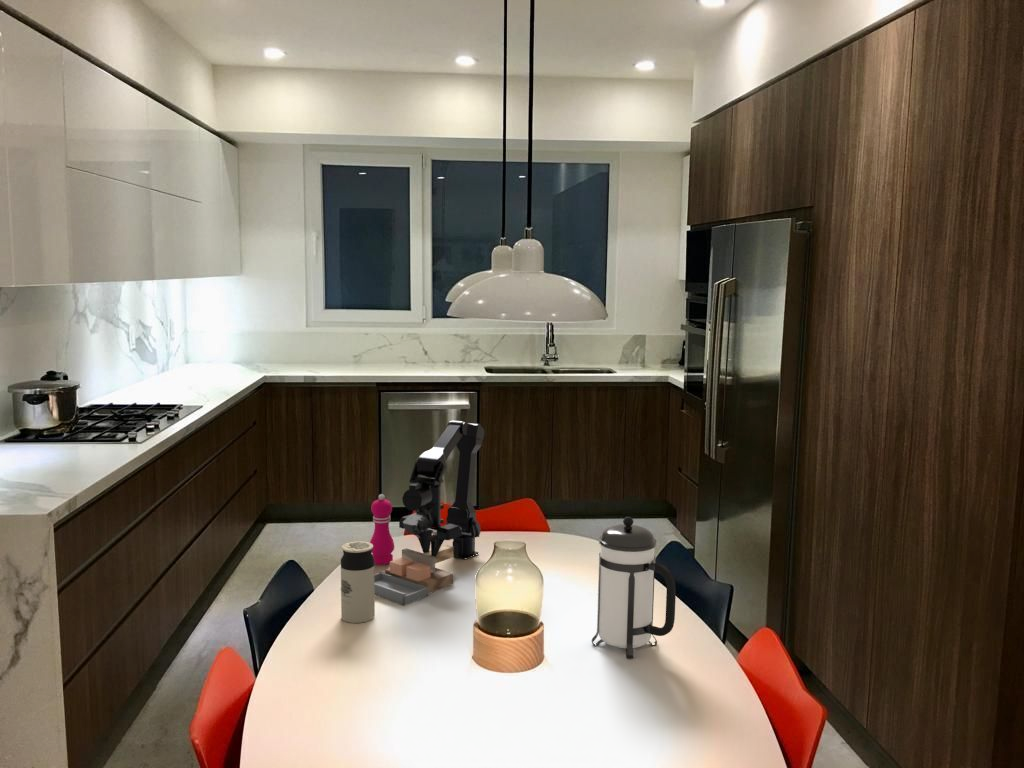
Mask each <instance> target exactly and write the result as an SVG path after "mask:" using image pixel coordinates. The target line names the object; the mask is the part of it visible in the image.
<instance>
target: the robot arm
mask: <svg viewBox="0 0 1024 768" xmlns="http://www.w3.org/2000/svg"><path fill="white" fill-rule="evenodd" d="M484 437H485V429H484V428H483V427H482V425H481V424H480V423H473V422H472V423H471V422H466V421H463V420H453V419H452V420H450V421H448V423H447V426H446V428H445V430H444V431H443V433H442V434H441V436H440V437H439V438H438V440H437V441H436V442H435V444H434V445H433V447H432V448H430V449H429V450H426V451H423V452H422V453H421V454H420V455H419V457H418V458H417V459H416V461H415V463H414V466H413V469H412V471H411V474H410V478H409V483H411V484H409V485H408V489H407V490H405V492H404V493H403V496H402V503H403V506H404V507H405V508H406V509H407V510H408V511H413V512H414V513H412V514H408V515H404V516H402V517H401V518H400V519H399V524H398V526H399V529H402V530H403V529H404V531H405V533H407V534H411V535H414V536H415V537H417V539H418V542H419V544H420V547H421V550H422V553H425V552H428V551H431V556H434V557H435V558H436V556H437V553H438V551H439V549H440V547H442V545H443V543H444V541H451V540H452V546H453V547H454V550H453V557H455V556H456V557H455V558H459V559H462V558H463V560H465V559H464V558H467V559H469V558H468V557H470V558H472V557H474V556H473V555H475V556H477V555H476V554H478V553H479V552H478V551H475V549H476V538H480V535H481V531H482V529H481V525H480V523H479V522H478V520H477V513H476V509H475V507H474V505H473V503H472V496H473V489H474V488H473V487H474V485H473V484H474V473H475V464H476V456H477V455H476V454H477V453H478V451H479V450H480V448H481V447H482V446H483V440H484ZM455 447H456V448H457V451H458V454H459V455H458V463H457V475H456V486H455V497H454V502H453V503H452V505H451V506H448V507H447V513H446V514H447V516H446V519H445V520H444V519H443V518H442V517H441V511H442V510H443V509H444V507H445V506H444V504H442V503H441V502H442V500H441V499H442V498H441V497H442V496H441V495H442V493H441V491H442V489H441V484H442V483H444V479H443V476H444V474H445V472H446V470H447V467H448V465H447V459H448V458H449V456H450V455H451V453H452V452H453V451H454V449H455ZM444 521H445V524H444ZM441 524H444V525H441ZM430 549H431V550H430ZM478 555H479V554H478ZM471 556H472V557H471Z"/></svg>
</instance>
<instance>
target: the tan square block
mask: <svg viewBox="0 0 1024 768" xmlns="http://www.w3.org/2000/svg"><path fill="white" fill-rule="evenodd" d="M413 564H414V562H413V561H412V560H409V559H406V558H402V556H401V557H398V558H396V559H393V561H390V563H389V568H390V573H394V574H397V575H400V576H403V575H406V567H407V566H410V565H413Z"/></svg>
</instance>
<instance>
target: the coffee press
mask: <svg viewBox="0 0 1024 768" xmlns="http://www.w3.org/2000/svg"><path fill="white" fill-rule="evenodd" d="M634 522H635V521H634V519H633V518H632V517H630V516H625V517H624V518H623V521H622V524H613V525H610V526H608V527H607V528H605V529H604V530H602V533H601V535H599V537H598V544H599V546H600V549H599V550H600V552H599V553H598V555H599V557H598V583H597V584H598V586H597V587H598V588H597V591H598V592H597V619H596V620H597V621H596V633H595V634H594V636H593V637H592V639H591V644H592V646H593V647H598V646H599V645H601V644H602V643H603V642H604V643H605V644H607V645H609V646H611V647H615V648H620V649H625V655H626V656H625V657H626V659H633V658H634V649H636V648H640V647H643V646H645V645H646V644H650V646H652V643H655V646H656V645H658V640H657V639H656V637H655V636H657V637H658V636H659V637H661V636H662V637H663V636H666V635H668V634H670V633H671V632H672V630H673V629H674V626H675V625H674V624H675V619H676V597H677V596H676V595H677V594H676V592H677V591H676V589H677V588H676V580H675V578H674V576H673V574H672V573H673V572H671V571H670V570H669V569H668V568H667V567H666V565H663V564H660V563H656V556H655V549H656V547H657V539H656V538H655V536H654V534H653V532H652V531H651V530H649V528H646V527H645V526H644V527H643V526H642V525H637V524H634ZM655 573H656V574H657V573H658V574H659V575H661V577H663V579H664V581H665V585H666V596H665V597H666V598H665V599H666V600H665V620H664V621H665V622H664V625H663V626H662V627H658V626H655V625H653V624H654V623H653V622H654V603H655V602H654V597H655V596H654V595H655ZM598 636H599V638H600V639H599V640H598V641H597V642H596V646H595V644H594V643H595V640H596V639H597V637H598ZM651 638H653V639H654V640H655V641H654V642H651V641H650V640H651Z"/></svg>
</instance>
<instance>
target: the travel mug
mask: <svg viewBox="0 0 1024 768" xmlns="http://www.w3.org/2000/svg"><path fill="white" fill-rule="evenodd" d="M372 548H373V545H372V544H371V543H370V541H350V542H347V543H344V544H343V545H341V549H342V553H343V554H342V556H341V558H340V597H341V598H340V601H341V602H340V603H341V604H340V605H341V606H340V607H341V609H340V612H341V614H340V615H341V617H340V618H341V619H342V620H343V621H345V622H347V623H351V624H361V623H362V624H363V623H366V621H367V622H368V621H371V620H373V619H374V617H376V616H375V614H376V613H375V612H376V610H375V606H376V605H375V603H376V602H375V597H376V596H375V586H374V574H375V564H374V557H373V555H372V553H371V552H372Z"/></svg>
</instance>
